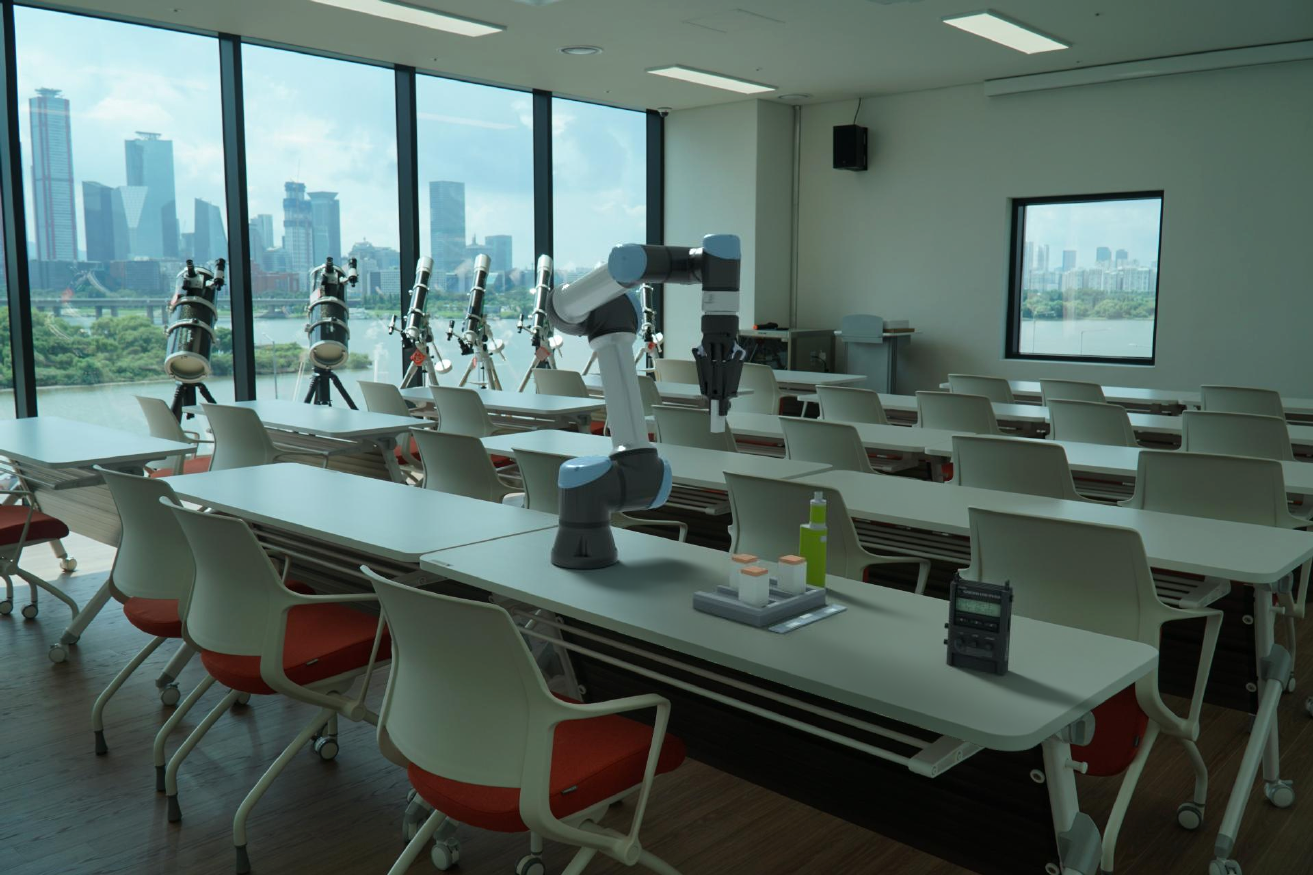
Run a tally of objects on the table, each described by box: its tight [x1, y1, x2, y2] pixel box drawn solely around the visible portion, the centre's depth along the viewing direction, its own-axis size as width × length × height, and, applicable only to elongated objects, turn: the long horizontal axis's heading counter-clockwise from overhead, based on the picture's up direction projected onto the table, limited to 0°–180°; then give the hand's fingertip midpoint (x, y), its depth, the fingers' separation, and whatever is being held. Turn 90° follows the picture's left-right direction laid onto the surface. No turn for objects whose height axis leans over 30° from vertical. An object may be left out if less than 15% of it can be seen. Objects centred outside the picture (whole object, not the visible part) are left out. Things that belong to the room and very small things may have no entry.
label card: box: [768, 603, 848, 634], centre depth 185 cm, size 3×21×1 cm, turn 137°
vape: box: [798, 491, 828, 589], centre depth 206 cm, size 4×6×20 cm, turn 37°
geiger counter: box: [943, 571, 1015, 677], centre depth 160 cm, size 10×4×15 cm, turn 56°
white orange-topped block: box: [776, 554, 807, 594], centre depth 195 cm, size 4×4×7 cm
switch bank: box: [692, 574, 827, 628], centre depth 193 cm, size 16×21×3 cm
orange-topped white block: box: [729, 553, 760, 590], centre depth 195 cm, size 4×4×7 cm
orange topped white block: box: [739, 566, 770, 607], centre depth 186 cm, size 4×4×7 cm
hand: (717, 431), depth 201 cm, fingers closed
